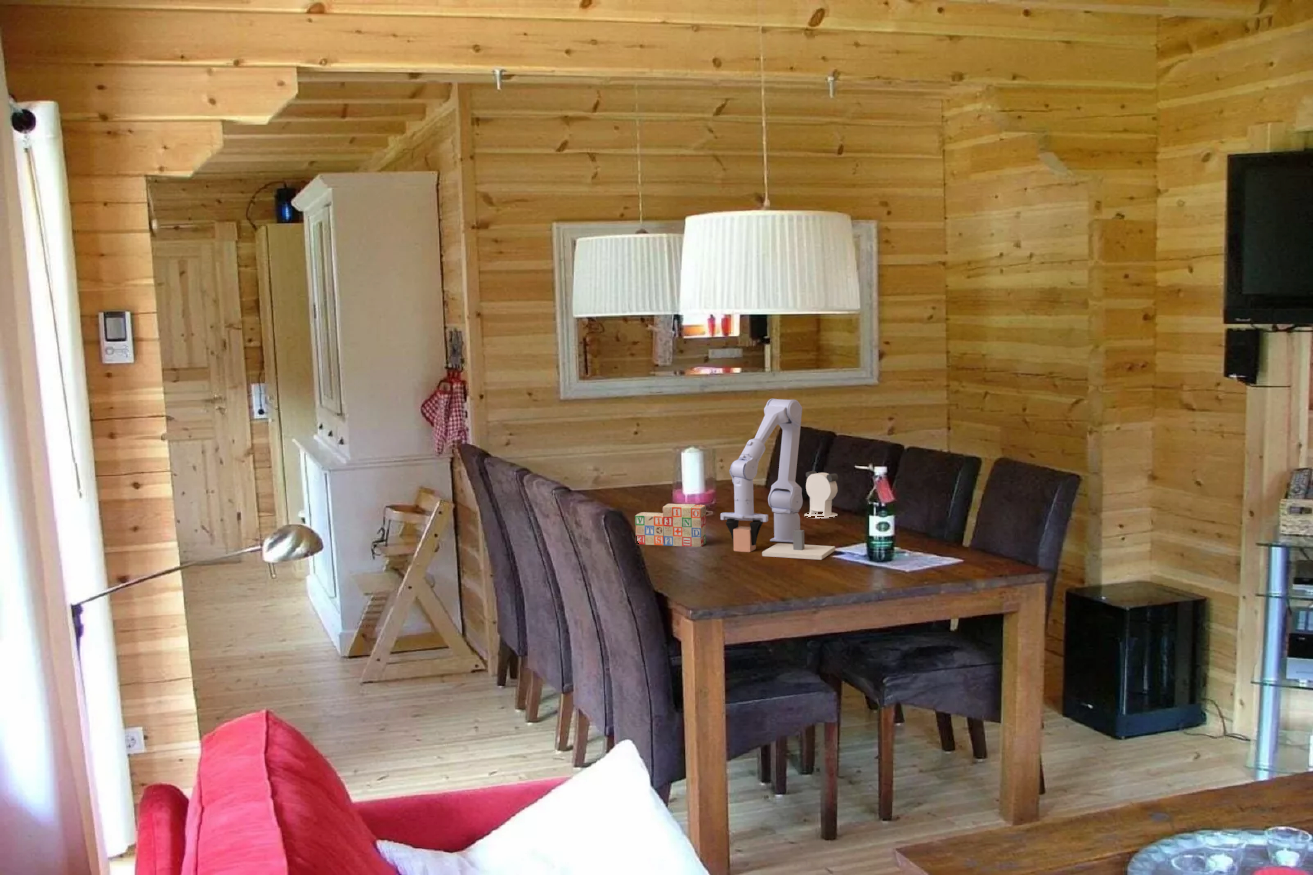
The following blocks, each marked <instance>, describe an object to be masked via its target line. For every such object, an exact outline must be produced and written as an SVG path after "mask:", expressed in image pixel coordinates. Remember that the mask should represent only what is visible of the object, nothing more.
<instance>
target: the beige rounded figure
mask: <svg viewBox="0 0 1313 875" xmlns="http://www.w3.org/2000/svg"><path fill="white" fill-rule="evenodd" d="M805 477H806V481H805V482H806V483H805V489H806V490H805V491H806V494H807V495H808V497H809V512H806V513H804V517H805V516H808V517H811V516H815V518H814V519H820V518H821V519H830V518H829V517H833V518H836V517H835V516H837V517H838V513H836V512H832V506H833V505H834V504H835V500H834V498H835V497H836V496H837V493H838V491H839V487H838V483H837V481H838V480H839V476H838V473H827V472H818V473H817V471H815V470H811V471H807V472H805ZM818 512H823V513H822V514H818ZM807 513H809V514H807ZM815 513H816V514H815ZM817 516H824V517H817ZM808 517H807V518H808Z"/></svg>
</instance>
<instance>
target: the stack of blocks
mask: <svg viewBox="0 0 1313 875" xmlns="http://www.w3.org/2000/svg"><path fill="white" fill-rule="evenodd" d="M706 506H707V505H706V504H696V503H666V504H665V505H664V506H662V512H647V511H646V512H645V511H643V512H639V513H637V514H636V515H634V518H635V519H634V521H635V537H636V536H637V541H638V543H639V544H638V545H647V546H668V547H669V546H670V547H671V546H672V547H675V546H676V547H697V548H701V547H703V546H704V545H705V544H707V513H706V512H707V509H706V508H707V507H706Z"/></svg>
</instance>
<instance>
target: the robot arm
mask: <svg viewBox="0 0 1313 875" xmlns="http://www.w3.org/2000/svg"><path fill="white" fill-rule="evenodd" d="M763 413H764V416H763V418H762V420H761V423H760V424H759V427H758V429H757V432H756V434H755V436H754V438H750V439H749V440H748V441H747V442H746V445H745V446H744V448H743V450H742V452H741V453H740V455H739V457H738V458H737V459H735V460H734V461H732V463H731V464H730V469H729V475H730V477H731V479H732V480H731V482H732V484H733V493H734V494H733V500H734V512H721V513H720V520H721V521H725V520H726V522H725V525H726V527H727V529H728V530H729V532H730V536H731V539H732V543H733V545H734V541H733V529H735V528H737V527H739V524H740V523H739V522H740V521H747V522H749V527H750V528H751V543H752V545H756V546H757V540H758V537H759V533H760V530H761V528H762V526H763V524H764V523H767V522H768V521H769V514H763V513H756V512H755V511H754V510H755V508H754V479H755V477H756V476H757V474H758V467H759V462H760V460H761V458H762V456H763V454H764V453H765V451H766V445H765V444H766V442H767V441H768V439H769V437H770V436H771V434H772V433H773V431H774V430H775V429H776V427H777V426H779V427H780V428H781V430H782V434H781V444H780V453H779V454H780V455H779V462H778V463H779V464H778V465H779V466H778V467H779V468H778V476H777V480H776V481H775V482H774V483H772V484H771V486H770V491H769V494H768V496H767V502H768V507H770V509H771V512H772V513H773V533H774V534H773V536H774V537H772V538H770V539H769V542H777V543H793V531H795V530H801V517H800V514H799V512H800V510H801V508H802V506H803V502H804V500H803V494H802V492H803V488H802V487H801V486H800V484H798V483H797V482H796V477H797V466H798V465H797V464H798V458H799V456H798V455H799V445H800V437H801V427H802V426H801V425H802V415H803V407H802V405H801V404H800V402H799V401H798V400H797V399H782V398H778V399H777V398H770V399H768V400H767V402H766V405H765V406H764V408H763Z"/></svg>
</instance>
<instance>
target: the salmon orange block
mask: <svg viewBox="0 0 1313 875" xmlns="http://www.w3.org/2000/svg"><path fill="white" fill-rule="evenodd" d="M733 541H734V544H733V551H734V552H742V553H750V552H753V551H755V550H756V549H757V544H756V545H752V543H751V528H750V526H741V525H738V527H737V528H735V529H733V539H732V542H733Z"/></svg>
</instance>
